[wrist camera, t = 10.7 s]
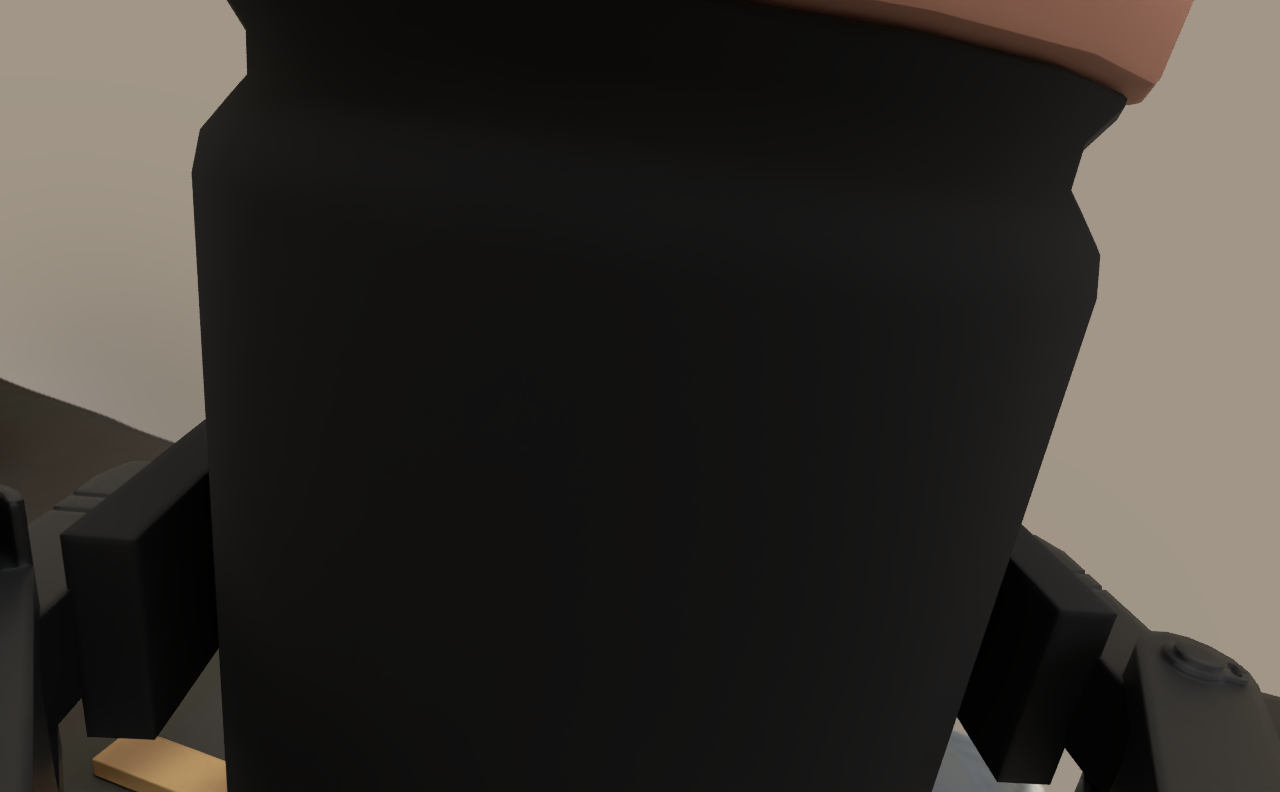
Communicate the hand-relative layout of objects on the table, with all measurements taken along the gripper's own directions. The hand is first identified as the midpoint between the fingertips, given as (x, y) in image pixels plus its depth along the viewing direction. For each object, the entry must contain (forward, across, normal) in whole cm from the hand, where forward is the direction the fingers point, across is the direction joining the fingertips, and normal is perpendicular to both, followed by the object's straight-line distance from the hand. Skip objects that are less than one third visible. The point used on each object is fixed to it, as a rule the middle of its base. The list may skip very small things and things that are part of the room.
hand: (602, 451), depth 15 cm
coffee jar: (-4, 0, -10) cm, 11 cm away
